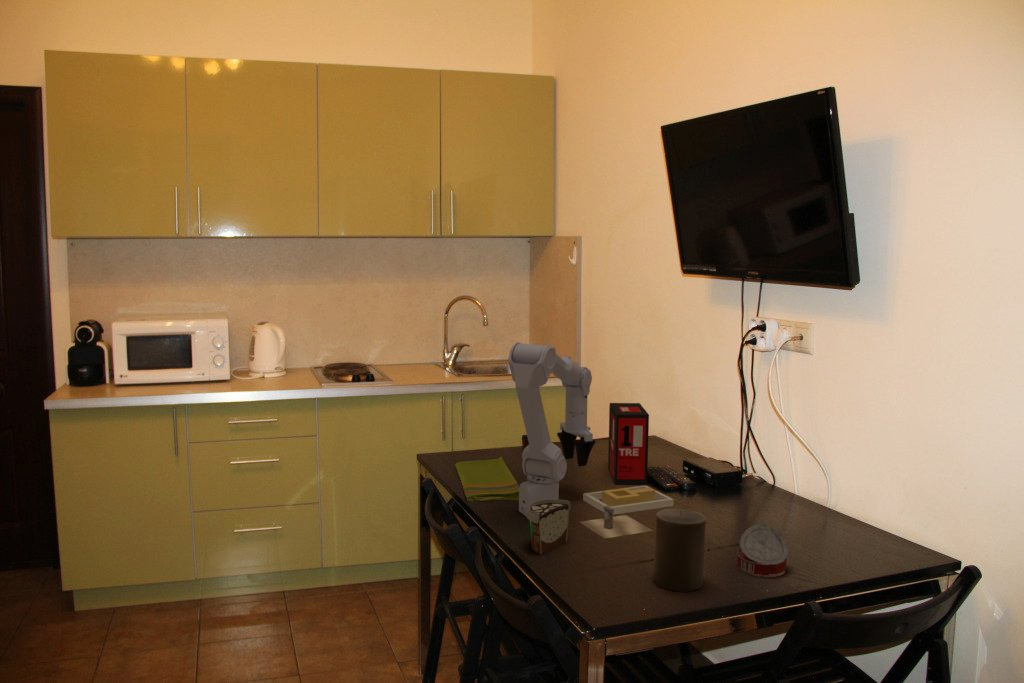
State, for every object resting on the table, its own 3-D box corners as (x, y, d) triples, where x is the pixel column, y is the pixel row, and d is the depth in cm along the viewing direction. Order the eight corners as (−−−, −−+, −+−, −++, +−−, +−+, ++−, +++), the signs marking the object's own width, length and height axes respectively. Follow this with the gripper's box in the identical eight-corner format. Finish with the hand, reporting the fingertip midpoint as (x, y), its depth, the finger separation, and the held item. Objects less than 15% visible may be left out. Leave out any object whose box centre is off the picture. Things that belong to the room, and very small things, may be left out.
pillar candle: (679, 596, 160) (683, 520, 158) (643, 579, 167) (646, 506, 166) (713, 585, 165) (717, 511, 164) (676, 568, 173) (680, 499, 171)
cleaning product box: (608, 468, 248) (609, 402, 246) (637, 469, 248) (639, 403, 246) (615, 485, 232) (616, 414, 229) (647, 485, 232) (649, 414, 230)
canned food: (781, 587, 176) (807, 551, 172) (760, 597, 168) (787, 560, 165) (740, 550, 182) (764, 515, 179) (718, 558, 175) (742, 522, 171)
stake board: (604, 541, 188) (605, 518, 187) (579, 525, 199) (579, 502, 198) (653, 533, 193) (653, 511, 193) (625, 518, 204) (626, 496, 204)
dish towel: (467, 504, 215) (467, 492, 215) (453, 467, 250) (453, 457, 250) (525, 502, 218) (525, 490, 218) (504, 465, 253) (504, 455, 253)
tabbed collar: (615, 510, 208) (616, 498, 208) (601, 502, 215) (602, 490, 214) (659, 504, 213) (660, 492, 213) (644, 496, 220) (645, 485, 219)
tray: (608, 518, 204) (608, 508, 204) (582, 502, 216) (583, 493, 215) (673, 508, 212) (673, 499, 211) (645, 494, 223) (645, 485, 223)
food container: (548, 537, 191) (549, 495, 190) (570, 543, 187) (571, 500, 186) (514, 552, 181) (514, 508, 180) (536, 559, 177) (537, 514, 176)
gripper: (603, 415, 213) (602, 467, 215) (576, 405, 226) (575, 454, 228) (579, 418, 210) (578, 470, 212) (553, 407, 224) (552, 456, 225)
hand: (575, 462), depth 220 cm, fingers open, 7 cm apart
